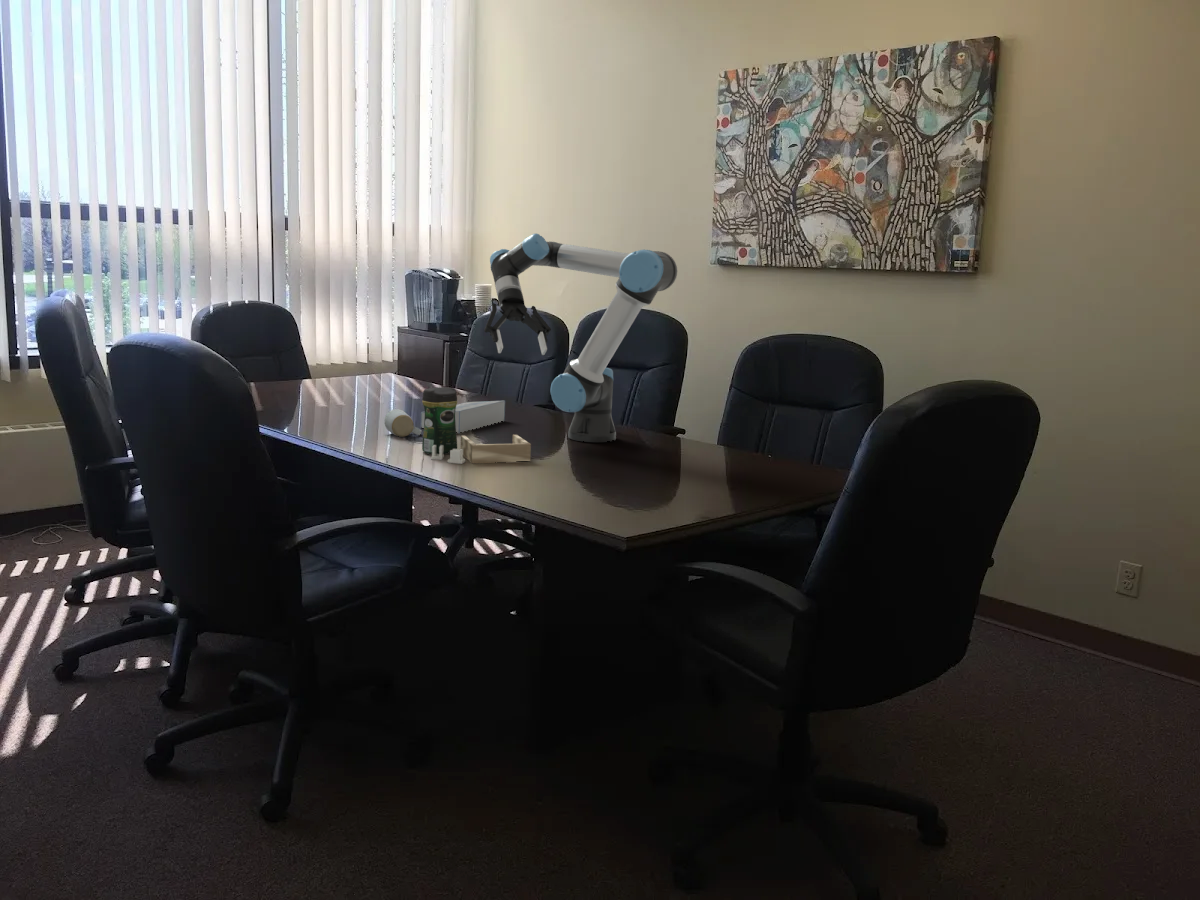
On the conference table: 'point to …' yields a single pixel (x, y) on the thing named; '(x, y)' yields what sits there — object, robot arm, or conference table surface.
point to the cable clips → (455, 455)
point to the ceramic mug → (400, 423)
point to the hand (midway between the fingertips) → (522, 351)
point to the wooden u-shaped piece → (496, 451)
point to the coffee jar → (439, 419)
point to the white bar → (476, 414)
